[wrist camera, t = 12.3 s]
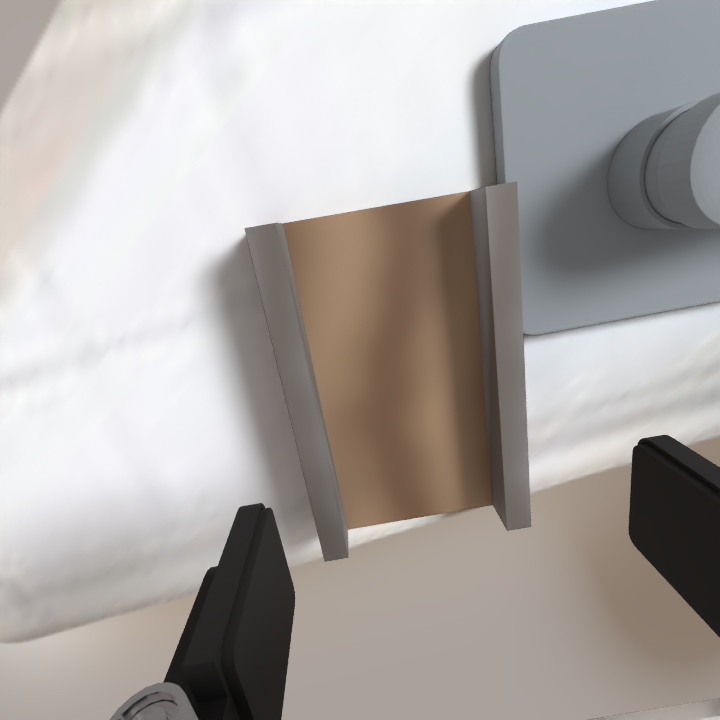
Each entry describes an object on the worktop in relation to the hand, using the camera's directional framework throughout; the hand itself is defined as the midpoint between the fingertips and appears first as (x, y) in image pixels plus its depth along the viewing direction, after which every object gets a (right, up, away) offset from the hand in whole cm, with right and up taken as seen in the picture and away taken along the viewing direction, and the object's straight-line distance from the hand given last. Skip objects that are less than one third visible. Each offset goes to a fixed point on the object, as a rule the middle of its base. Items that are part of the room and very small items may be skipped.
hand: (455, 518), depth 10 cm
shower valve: (+19, +13, +5) cm, 24 cm away
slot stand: (-1, +3, +10) cm, 11 cm away
